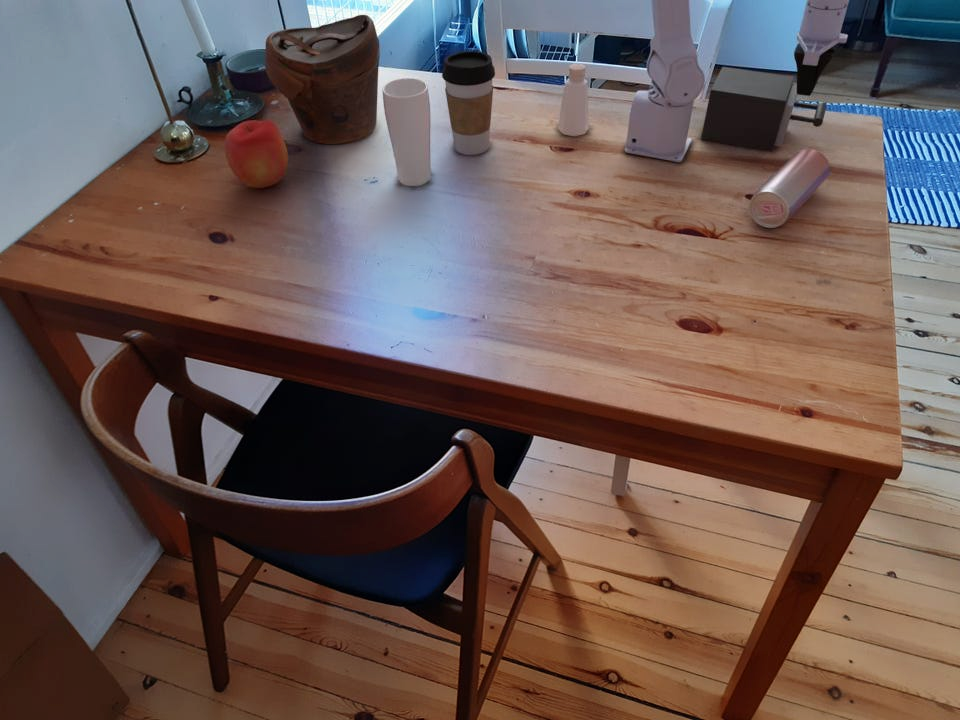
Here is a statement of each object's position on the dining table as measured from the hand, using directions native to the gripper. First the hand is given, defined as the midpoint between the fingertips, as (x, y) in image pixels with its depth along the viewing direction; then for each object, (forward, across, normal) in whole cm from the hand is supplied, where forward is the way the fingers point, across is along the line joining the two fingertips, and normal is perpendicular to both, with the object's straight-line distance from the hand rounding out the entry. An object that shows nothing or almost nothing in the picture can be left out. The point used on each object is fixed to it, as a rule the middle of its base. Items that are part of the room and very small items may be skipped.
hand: (803, 93), depth 114 cm
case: (+5, -26, +74) cm, 79 cm away
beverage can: (+5, -14, -4) cm, 16 cm away
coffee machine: (+7, -2, +8) cm, 11 cm away
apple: (+5, -46, +75) cm, 88 cm away
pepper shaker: (+6, -11, +35) cm, 37 cm away
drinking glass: (+6, -36, +53) cm, 64 cm away
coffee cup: (+6, -23, +49) cm, 54 cm away
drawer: (+6, -2, +4) cm, 8 cm away
